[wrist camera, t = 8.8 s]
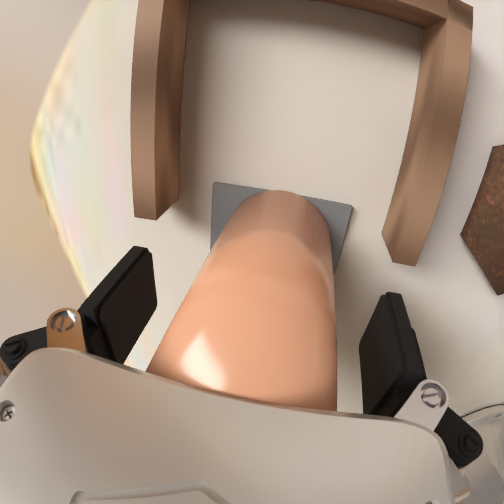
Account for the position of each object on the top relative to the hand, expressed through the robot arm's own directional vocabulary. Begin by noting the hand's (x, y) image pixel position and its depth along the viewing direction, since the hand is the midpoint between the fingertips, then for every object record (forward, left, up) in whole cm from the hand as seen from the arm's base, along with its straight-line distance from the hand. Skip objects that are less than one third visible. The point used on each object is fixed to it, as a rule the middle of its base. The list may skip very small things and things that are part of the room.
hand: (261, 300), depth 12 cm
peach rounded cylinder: (-1, 0, -5) cm, 5 cm away
